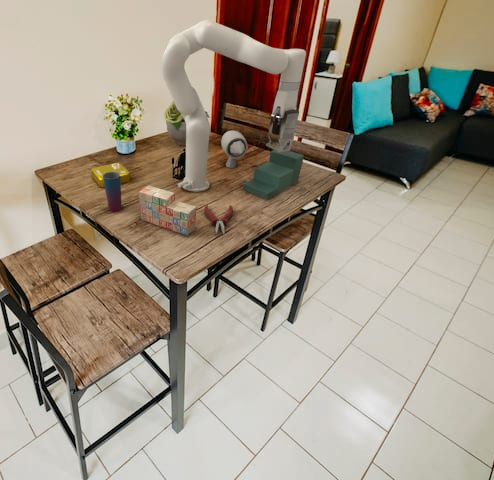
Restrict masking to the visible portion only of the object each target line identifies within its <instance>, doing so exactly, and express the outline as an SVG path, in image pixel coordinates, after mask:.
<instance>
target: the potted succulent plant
mask: <svg viewBox="0 0 494 480" xmlns="http://www.w3.org/2000/svg"><path fill="white" fill-rule="evenodd" d="M205 113H206V115H207V118H208V119H209V118H211V117H210V115H209V114H208V113H209V112H208V111H206V110H205ZM163 116H164V117H163V118H164V120H165V121H166V123H165V124H166V131H167V134H168V136H169V137H170V138H171V139H172V140H174V141H176V143H177V144H178V145H180V146H186V122H185V120H184V118H183V116H182V114H181V113H180V112H179V111H178V109H177V108H176V106H175V103H174V100H172V102H171V103H170V105H169V106H168V107H167V108H166V109H165V112H164V114H163Z"/></svg>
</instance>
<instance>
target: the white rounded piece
mask: <svg viewBox="0 0 494 480" xmlns="http://www.w3.org/2000/svg"><path fill="white" fill-rule="evenodd" d="M220 141H221V142H220V143H221V148H222V150H223V152H224V154H226V155H227V156H228V158H227V160H226V163H225V167H226V168H229V169H233V168H234V169H235V168H236V167H237V163H236V160H238V159H241V158H242V157H244V156H245V155H246V153H247V152H248V149H249V147H248V142H247V140H246V138H245V136H244V135H243V134H242V133H241V132H239V131H237V130H228V131H226V132H225V133H224V134H223V135H222V137H221V140H220Z"/></svg>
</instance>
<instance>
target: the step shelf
mask: <svg viewBox="0 0 494 480" xmlns="http://www.w3.org/2000/svg"><path fill="white" fill-rule="evenodd" d="M304 157H305V155H304V154H302V153H299V152H294V151H291V150H290V151H284V152H277V151H275V150H273V149H271V151H270V154H269V159H268V161H267V162H265V163H263V164H261V165H258V166H257V167H255V168H254V170H253V178H251V179H250V180H248V181H246V182H243V183H242V189H241V190H242V191H245V192H247V193H250V194H253V195H254V196H257V197H259V198H262V199H264V200H266V201H267V200H269V199H271V198H273V197H274V196H276V195H278V194H280V193H281V192H283V191H284V190H286V189H289V188H290V187H292V186H293V185H296V184H297V183H299V180H300V175H301V172H302V171H301V170H302V167H303V163H304Z"/></svg>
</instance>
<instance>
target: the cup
mask: <svg viewBox="0 0 494 480" xmlns="http://www.w3.org/2000/svg"><path fill="white" fill-rule="evenodd" d="M103 181H104V186H105V187H104V191H105V196H106V200H107V205H108V210H109V211H110V212H112V213H117V212H121V210H122V207H123V206H122V186H121V185H122V184H121V180H120V173H118V172H114V171H112V172H106V173H104V174H103Z"/></svg>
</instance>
